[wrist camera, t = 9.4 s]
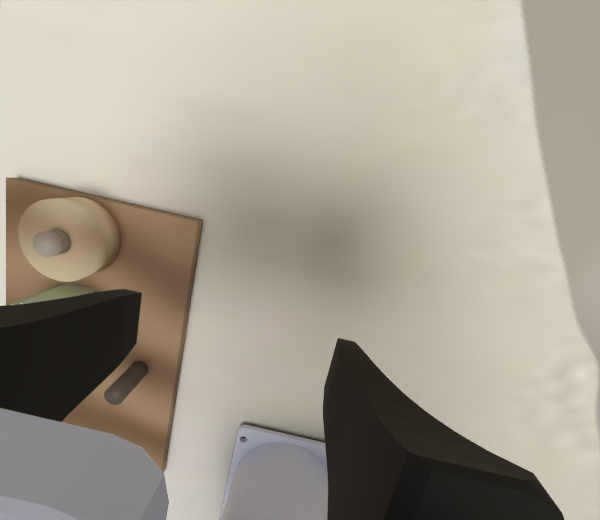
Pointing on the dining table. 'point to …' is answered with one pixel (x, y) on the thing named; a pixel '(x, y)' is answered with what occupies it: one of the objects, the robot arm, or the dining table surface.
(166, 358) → the gear board
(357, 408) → the robot arm
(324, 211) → the dining table surface
